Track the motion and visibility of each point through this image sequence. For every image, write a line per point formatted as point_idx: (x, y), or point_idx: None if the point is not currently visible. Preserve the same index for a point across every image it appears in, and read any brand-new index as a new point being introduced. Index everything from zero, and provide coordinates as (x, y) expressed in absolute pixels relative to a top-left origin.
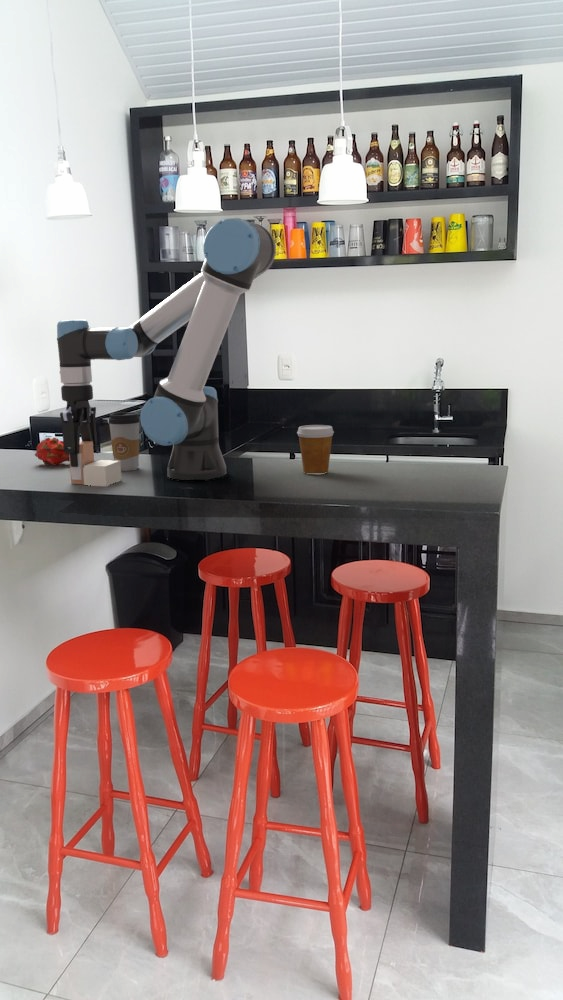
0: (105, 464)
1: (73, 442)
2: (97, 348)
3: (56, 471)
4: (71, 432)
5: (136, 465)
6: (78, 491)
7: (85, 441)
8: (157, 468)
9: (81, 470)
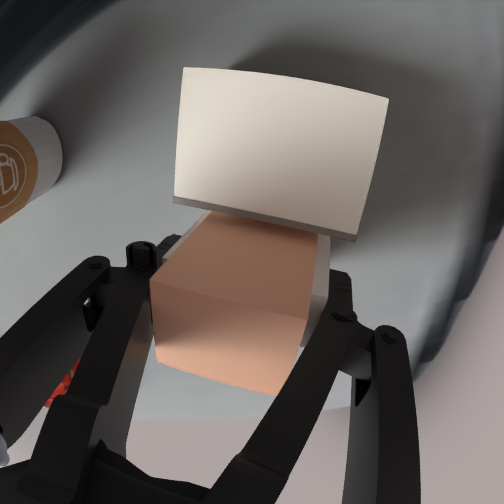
0: (321, 111)
1: (391, 377)
2: None
3: None
4: (415, 450)
5: (31, 117)
6: (460, 196)
7: (165, 325)
8: (23, 60)
9: (324, 243)
